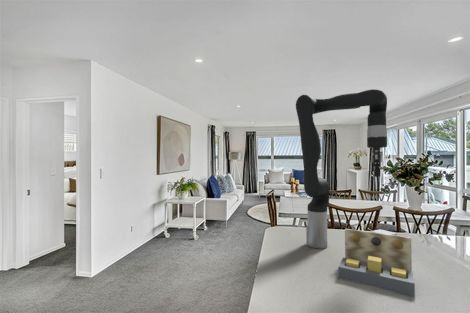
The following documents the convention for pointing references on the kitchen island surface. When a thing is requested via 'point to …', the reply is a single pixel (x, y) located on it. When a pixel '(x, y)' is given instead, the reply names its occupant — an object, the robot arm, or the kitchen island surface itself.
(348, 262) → the button left
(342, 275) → the board
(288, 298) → the kitchen island surface
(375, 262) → the button mid
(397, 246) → the card
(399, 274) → the button right
